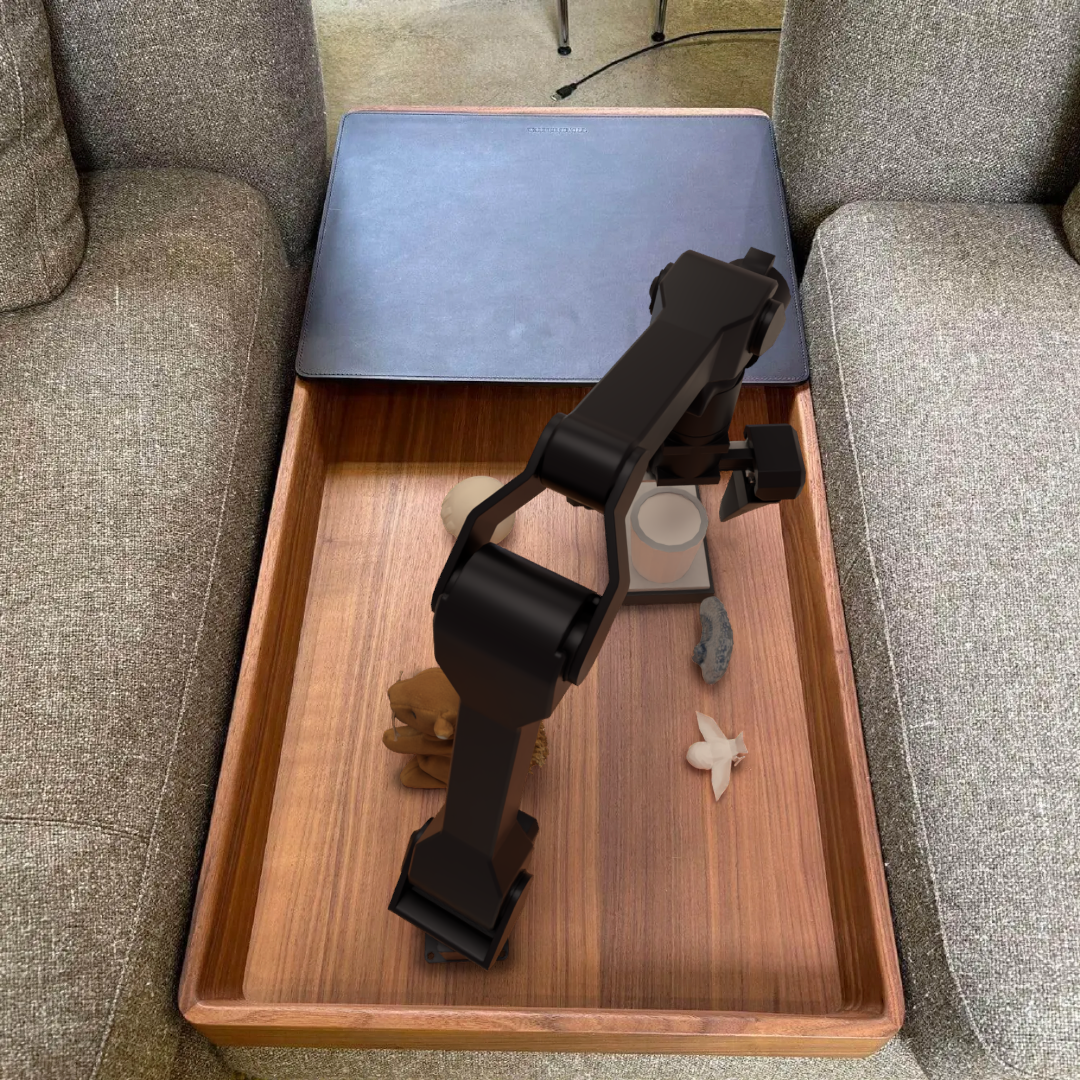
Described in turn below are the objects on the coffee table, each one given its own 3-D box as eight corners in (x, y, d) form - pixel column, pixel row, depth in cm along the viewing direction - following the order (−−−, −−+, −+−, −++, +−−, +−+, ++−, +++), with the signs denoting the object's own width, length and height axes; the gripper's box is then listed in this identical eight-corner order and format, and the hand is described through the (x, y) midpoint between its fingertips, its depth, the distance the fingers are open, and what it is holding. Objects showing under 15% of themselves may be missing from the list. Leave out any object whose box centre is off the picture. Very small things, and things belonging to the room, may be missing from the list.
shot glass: (697, 529, 85) (708, 488, 79) (697, 592, 82) (708, 554, 76) (626, 523, 86) (632, 482, 80) (622, 586, 82) (628, 548, 76)
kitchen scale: (711, 602, 84) (716, 590, 82) (617, 605, 84) (619, 593, 82) (690, 457, 93) (693, 442, 91) (604, 460, 93) (605, 445, 91)
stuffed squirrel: (409, 675, 81) (387, 611, 70) (562, 700, 79) (564, 640, 68) (380, 783, 76) (351, 733, 65) (542, 812, 74) (541, 767, 63)
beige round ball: (443, 503, 90) (436, 464, 85) (515, 499, 91) (513, 460, 85) (443, 561, 87) (436, 525, 81) (518, 556, 87) (516, 520, 81)
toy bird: (670, 716, 78) (696, 695, 74) (716, 716, 80) (743, 696, 76) (690, 807, 74) (719, 790, 70) (737, 805, 76) (768, 789, 72)
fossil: (688, 609, 84) (696, 585, 80) (725, 612, 84) (735, 587, 80) (689, 692, 80) (697, 671, 75) (728, 695, 80) (738, 674, 75)
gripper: (801, 320, 69) (760, 442, 82) (561, 328, 69) (559, 448, 82) (830, 435, 63) (781, 545, 77) (568, 444, 63) (565, 553, 77)
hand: (669, 519), depth 78 cm, fingers open, 9 cm apart
